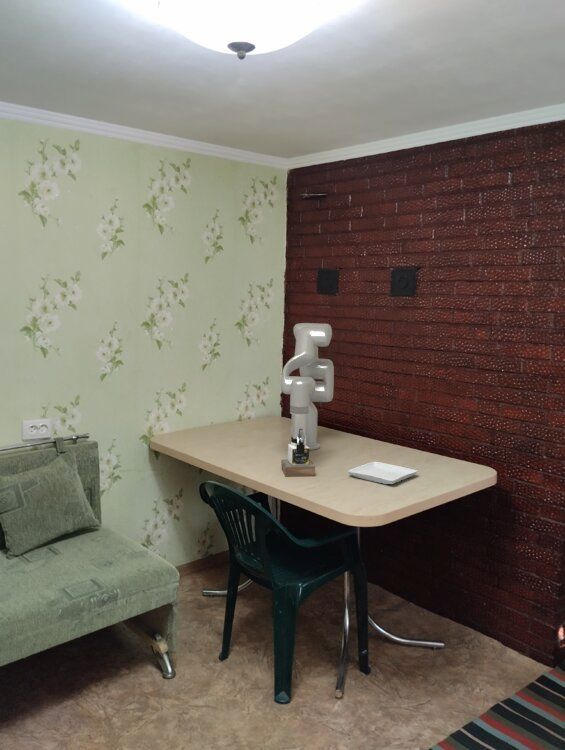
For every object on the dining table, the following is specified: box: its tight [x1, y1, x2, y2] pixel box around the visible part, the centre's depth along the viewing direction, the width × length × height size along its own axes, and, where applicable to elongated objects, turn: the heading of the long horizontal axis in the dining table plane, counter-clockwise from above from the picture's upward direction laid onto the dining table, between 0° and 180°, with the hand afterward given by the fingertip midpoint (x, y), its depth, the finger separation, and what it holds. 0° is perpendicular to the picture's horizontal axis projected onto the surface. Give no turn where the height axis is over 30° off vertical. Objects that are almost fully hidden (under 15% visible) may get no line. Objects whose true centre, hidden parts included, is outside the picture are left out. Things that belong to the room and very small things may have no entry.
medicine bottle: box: [287, 434, 310, 465], centre depth 260 cm, size 7×7×12 cm
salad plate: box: [347, 461, 419, 485], centre depth 257 cm, size 21×21×3 cm
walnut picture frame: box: [280, 458, 316, 478], centre depth 261 cm, size 12×12×4 cm
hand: (298, 451), depth 260 cm, fingers open, 9 cm apart
